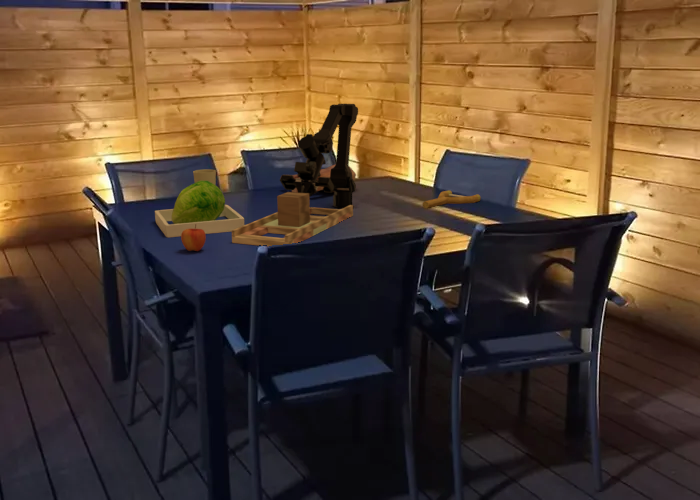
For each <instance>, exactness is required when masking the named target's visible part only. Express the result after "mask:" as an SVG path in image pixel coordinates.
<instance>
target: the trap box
mask: <svg viewBox="0 0 700 500" xmlns="http://www.w3.org/2000/svg"><path fill="white" fill-rule="evenodd" d="M353 206H354V205H353V204H352V205H349V206H347V207H345V208H326V207H325V208H324V207H313V206H311V207H310V222H309V223H307V224H305V225H303V226H301V227H292V226H281V225H278V211H276V212H274V213H272V214H269V215H267V216H264V217H262V218H259V219H257V220H255V221H252V222H250V223H247V224H244V226H242V227H239V228H237V229H234V230H232V231H231V243H232V244H241V245H249V246H251V245H252V246H259V245H261V247H264V246H263V245H267V246H266V247H269V246H272V245H283V244H292V243H298V242H300V243H301V241H302V242H303V241H305V240H308V239H309V238H311V237H313V236H315V235H317V234H319V233H321V232H323V231H325V230H327V229H329V228H332V227H334V226H336V225H338V224H339V222H340V223H342V222H343V220H344V221H345V220H348V219H349V217H350V218H351V217H353V216H354V207H353ZM313 214H314V215H313ZM325 215H326V216H325ZM347 218H348V219H347ZM341 221H342V222H341ZM266 234H275V235H277V234H278V235H284V236H283V237H275V236H274V237H273V236H264V235H266ZM298 244H299V243H298Z"/></svg>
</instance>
